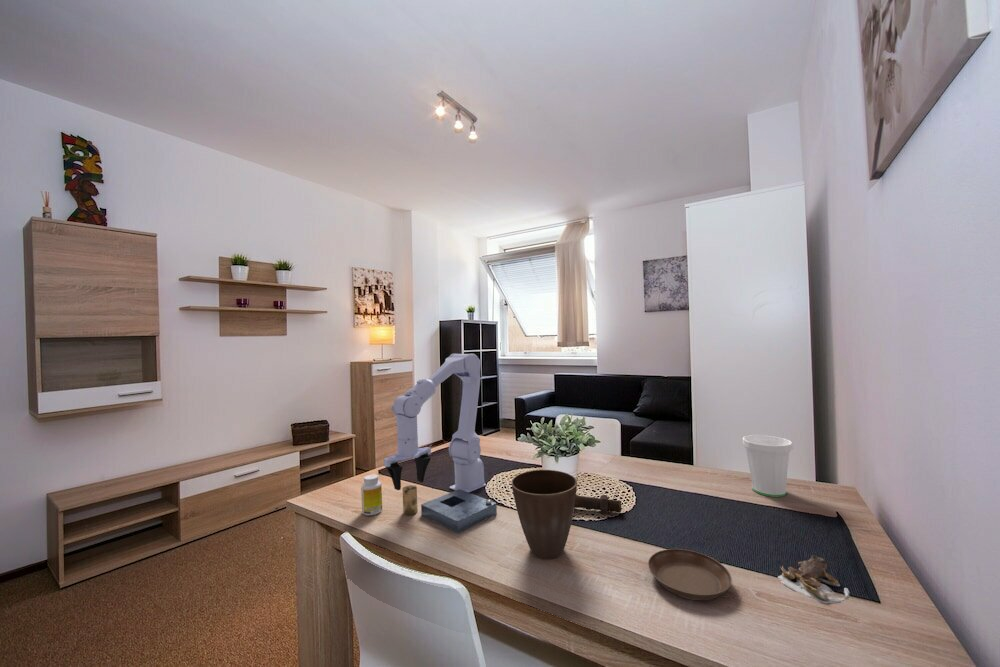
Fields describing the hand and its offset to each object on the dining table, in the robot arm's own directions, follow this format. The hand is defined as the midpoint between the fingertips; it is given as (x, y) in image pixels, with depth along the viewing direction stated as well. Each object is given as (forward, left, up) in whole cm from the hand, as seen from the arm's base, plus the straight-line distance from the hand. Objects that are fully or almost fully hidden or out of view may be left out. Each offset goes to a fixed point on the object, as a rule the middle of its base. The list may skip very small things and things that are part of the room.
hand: (409, 485), depth 114 cm
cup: (-77, +73, -8) cm, 106 cm away
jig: (-8, +12, -8) cm, 16 cm away
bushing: (0, 0, -8) cm, 8 cm away
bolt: (-33, +40, -8) cm, 52 cm away
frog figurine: (-33, +87, -9) cm, 94 cm away
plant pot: (-9, +42, -8) cm, 44 cm away
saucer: (-18, +70, -8) cm, 73 cm away
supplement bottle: (+7, -9, -8) cm, 14 cm away
